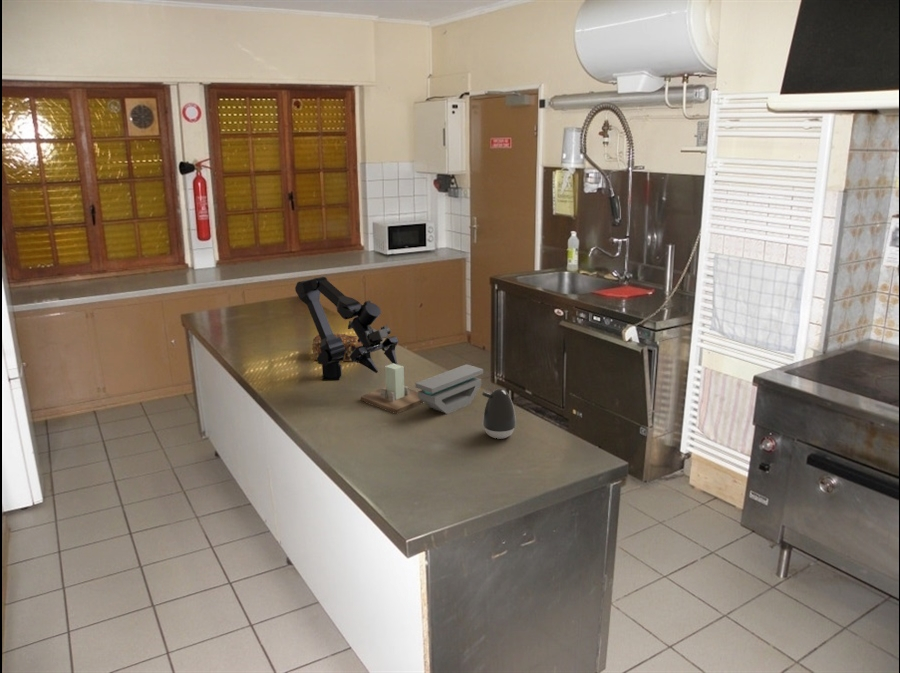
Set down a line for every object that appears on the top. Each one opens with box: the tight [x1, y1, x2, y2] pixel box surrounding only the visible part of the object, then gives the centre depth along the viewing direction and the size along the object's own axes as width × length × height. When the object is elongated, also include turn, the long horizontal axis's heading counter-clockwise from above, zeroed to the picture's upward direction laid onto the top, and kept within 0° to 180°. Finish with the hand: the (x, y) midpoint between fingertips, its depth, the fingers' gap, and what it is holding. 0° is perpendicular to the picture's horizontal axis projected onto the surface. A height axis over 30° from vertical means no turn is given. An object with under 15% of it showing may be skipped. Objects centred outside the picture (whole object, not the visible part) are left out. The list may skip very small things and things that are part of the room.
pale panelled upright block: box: [384, 363, 405, 400], centre depth 239 cm, size 4×6×11 cm
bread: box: [312, 333, 363, 362], centre depth 284 cm, size 19×11×10 cm, turn 84°
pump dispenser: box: [481, 388, 517, 440], centre depth 212 cm, size 10×10×15 cm
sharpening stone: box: [414, 363, 484, 415], centre depth 235 cm, size 25×8×11 cm, turn 137°
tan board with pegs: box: [360, 385, 424, 415], centre depth 241 cm, size 16×18×4 cm
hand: (386, 368), depth 241 cm, fingers open, 9 cm apart
